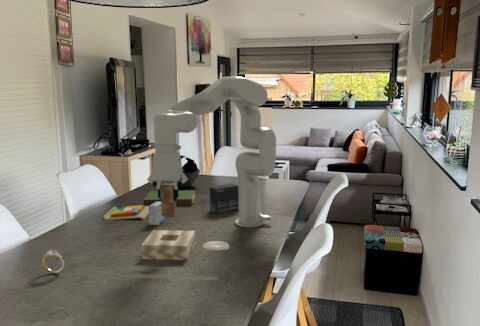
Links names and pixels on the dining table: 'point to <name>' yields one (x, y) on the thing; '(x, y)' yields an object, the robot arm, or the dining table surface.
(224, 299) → the dining table surface
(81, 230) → the dining table surface
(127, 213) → the wooden puzzle
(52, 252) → the bracelet
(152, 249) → the birch pocket block
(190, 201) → the hardcover book
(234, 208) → the small box
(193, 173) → the bowl of black rocks
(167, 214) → the walnut peg
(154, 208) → the medicine box
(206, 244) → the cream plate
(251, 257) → the dining table surface
